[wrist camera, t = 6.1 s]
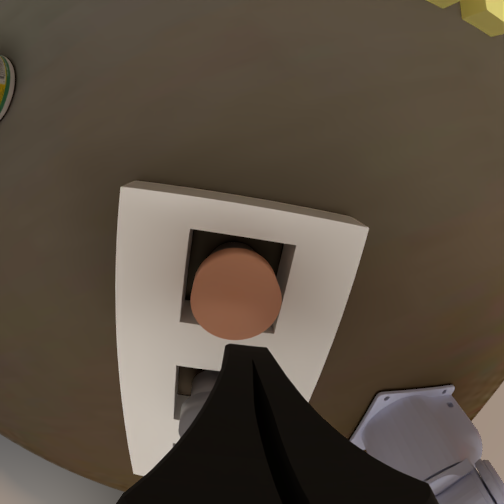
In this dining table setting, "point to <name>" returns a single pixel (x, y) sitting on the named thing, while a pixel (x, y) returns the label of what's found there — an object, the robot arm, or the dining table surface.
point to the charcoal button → (196, 398)
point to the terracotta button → (235, 293)
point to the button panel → (179, 310)
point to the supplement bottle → (6, 84)
